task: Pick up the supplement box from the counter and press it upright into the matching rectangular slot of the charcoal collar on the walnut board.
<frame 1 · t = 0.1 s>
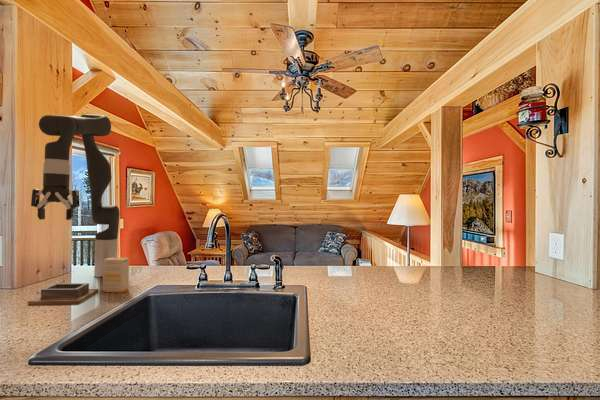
hand: (55, 219, 121), 29 cm above the worktop, tool pointing down, fingers open, 8 cm apart
supplement box: (115, 291, 138), on the worktop
slot holder: (65, 297, 128), on the worktop
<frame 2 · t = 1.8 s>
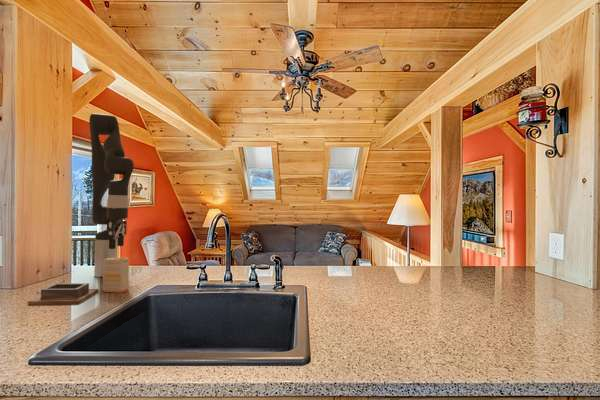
hand: (116, 247, 138), 17 cm above the worktop, tool pointing down, fingers open, 8 cm apart
nothing on the worktop moved.
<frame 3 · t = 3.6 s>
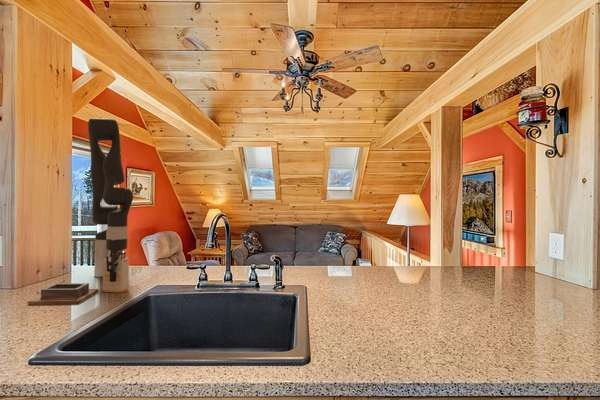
hand: (115, 279, 138), 5 cm above the worktop, tool pointing down, fingers closed on supplement box, 5 cm apart
supplement box: (115, 291, 138), on the worktop, touching gripper
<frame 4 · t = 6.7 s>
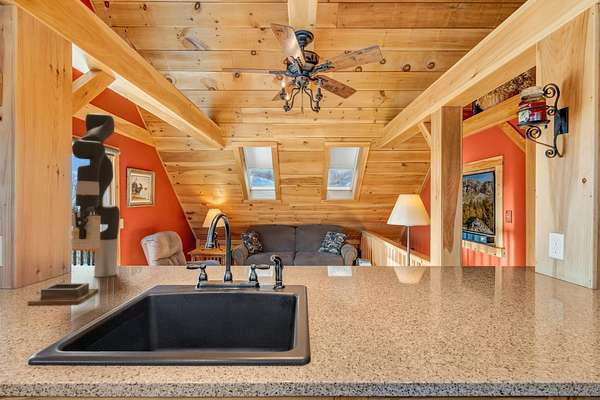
hand: (86, 238, 131), 22 cm above the worktop, tool pointing down, fingers closed on supplement box, 5 cm apart
supplement box: (85, 250, 131), point 17 cm above the worktop, touching gripper
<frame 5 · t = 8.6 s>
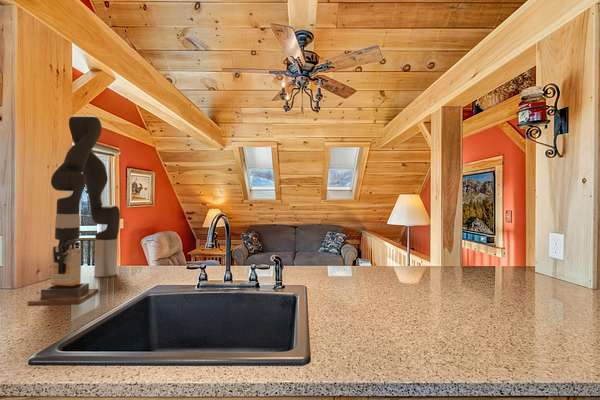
hand: (66, 271, 128), 10 cm above the worktop, tool pointing down, fingers closed on supplement box, 5 cm apart
supplement box: (66, 284, 128), point 5 cm above the worktop, touching gripper
when the fingers open (7 cm above the worktop, at t = 10.1 s): supplement box stays where it is, resting on slot holder.
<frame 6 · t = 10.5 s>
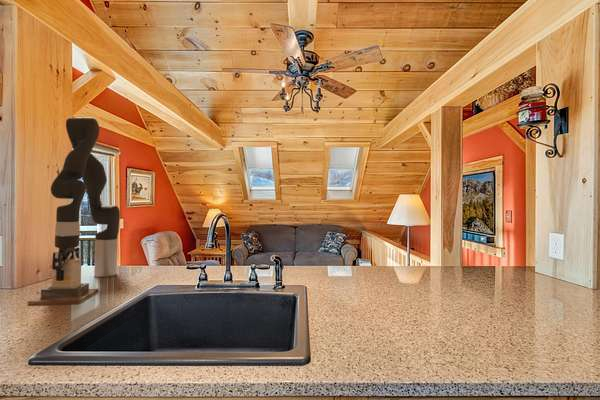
hand: (66, 277, 128), 7 cm above the worktop, tool pointing down, fingers open, 8 cm apart
supplement box: (66, 294, 128), point 1 cm above the worktop, touching slot holder
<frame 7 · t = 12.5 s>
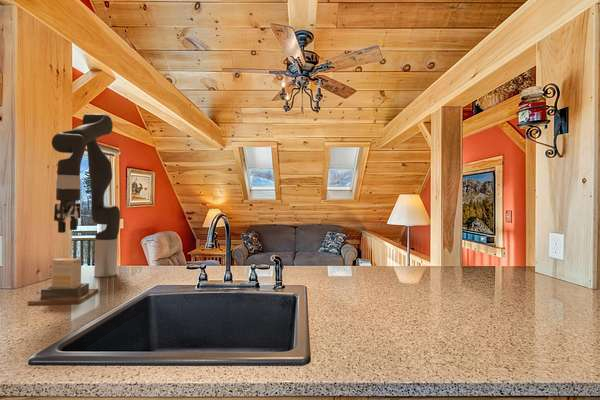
hand: (67, 231, 129), 24 cm above the worktop, tool pointing down, fingers open, 8 cm apart
nothing on the worktop moved.
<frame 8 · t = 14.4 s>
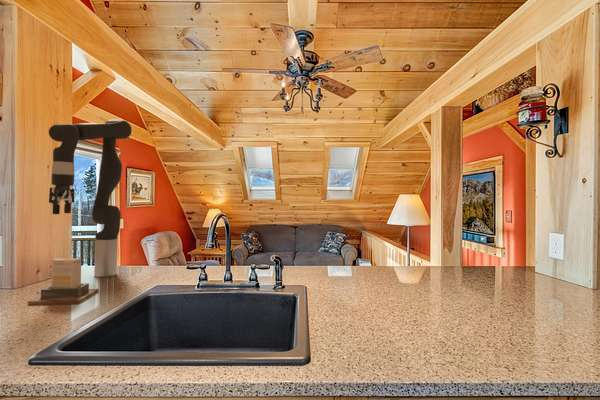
hand: (61, 213, 140), 30 cm above the worktop, tool pointing down, fingers open, 8 cm apart
nothing on the worktop moved.
at the end: supplement box 0.3 cm off-centre on the slot holder, point 1.0 cm above the slot holder's base; supplement box tilted 0°; the gripper is holding nothing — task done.
